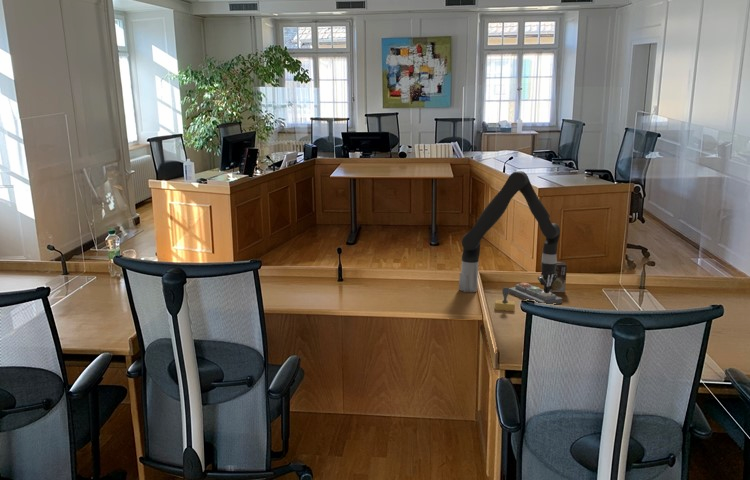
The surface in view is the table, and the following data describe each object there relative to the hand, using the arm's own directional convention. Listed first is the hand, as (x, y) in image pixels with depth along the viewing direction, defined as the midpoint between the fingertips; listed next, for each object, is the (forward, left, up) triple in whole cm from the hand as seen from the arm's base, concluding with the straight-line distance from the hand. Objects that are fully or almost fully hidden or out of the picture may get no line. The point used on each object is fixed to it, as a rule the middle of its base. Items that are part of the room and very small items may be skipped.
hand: (546, 292), depth 329 cm
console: (0, +8, -5) cm, 10 cm away
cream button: (0, 0, -2) cm, 3 cm away
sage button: (0, +8, -2) cm, 8 cm away
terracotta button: (0, +16, -3) cm, 16 cm away
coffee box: (+19, +11, -6) cm, 23 cm away
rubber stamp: (-26, +3, -6) cm, 27 cm away
